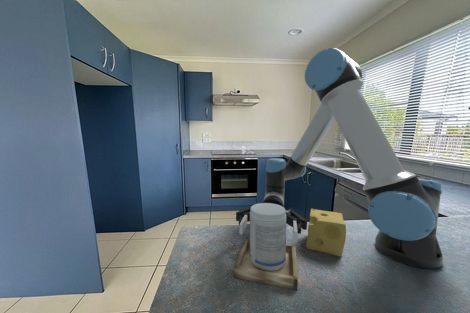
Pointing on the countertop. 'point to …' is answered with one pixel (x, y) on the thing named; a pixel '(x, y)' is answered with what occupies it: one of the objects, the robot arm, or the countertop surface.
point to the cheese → (326, 232)
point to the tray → (277, 278)
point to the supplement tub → (268, 236)
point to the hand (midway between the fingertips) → (267, 233)
